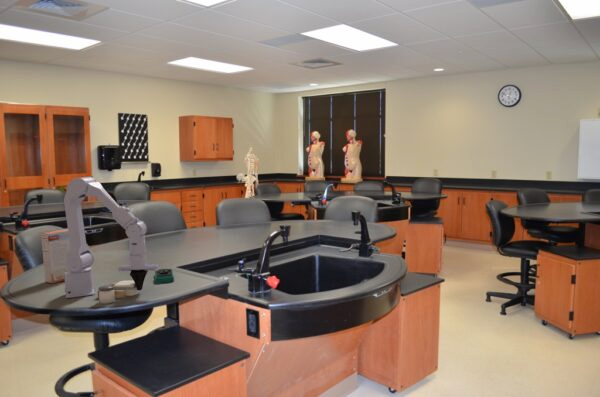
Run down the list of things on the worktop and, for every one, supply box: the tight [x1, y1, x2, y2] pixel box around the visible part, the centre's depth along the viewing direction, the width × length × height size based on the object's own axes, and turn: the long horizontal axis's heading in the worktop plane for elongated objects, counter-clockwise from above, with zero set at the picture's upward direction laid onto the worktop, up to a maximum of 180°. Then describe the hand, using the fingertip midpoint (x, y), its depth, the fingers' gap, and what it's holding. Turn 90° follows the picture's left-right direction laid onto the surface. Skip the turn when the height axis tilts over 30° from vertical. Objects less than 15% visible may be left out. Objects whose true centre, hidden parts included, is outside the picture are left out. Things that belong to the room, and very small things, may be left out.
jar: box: [98, 284, 116, 305], centre depth 165 cm, size 5×5×5 cm
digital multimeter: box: [154, 268, 175, 284], centre depth 196 cm, size 7×15×3 cm, turn 17°
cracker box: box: [40, 228, 70, 284], centre depth 197 cm, size 14×6×21 cm, turn 148°
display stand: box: [97, 282, 127, 299], centre depth 175 cm, size 10×11×2 cm
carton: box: [114, 279, 141, 297], centre depth 175 cm, size 7×6×4 cm
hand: (139, 289), depth 174 cm, fingers closed
